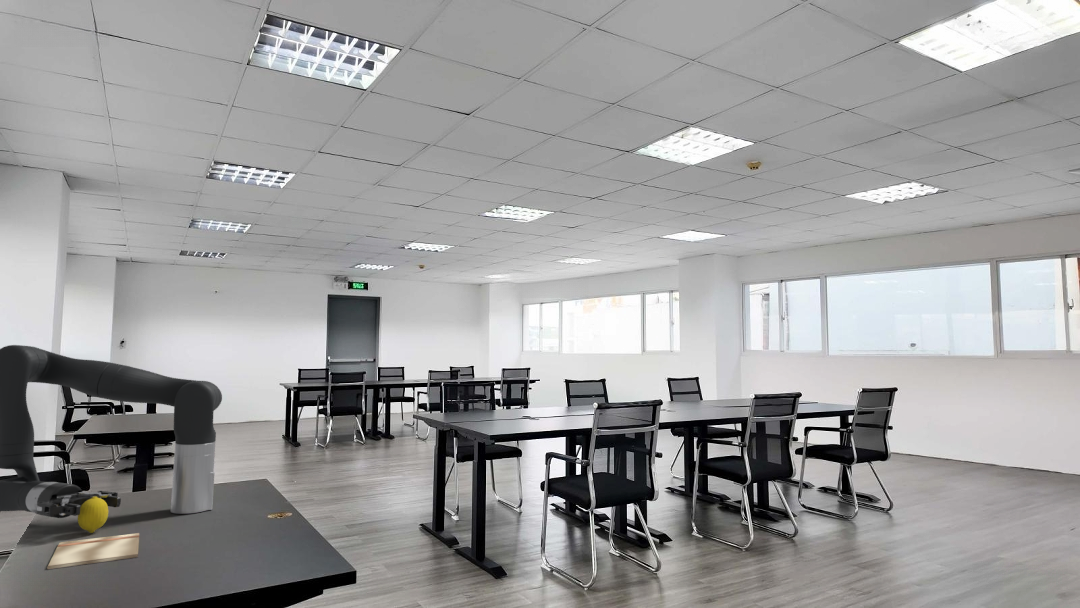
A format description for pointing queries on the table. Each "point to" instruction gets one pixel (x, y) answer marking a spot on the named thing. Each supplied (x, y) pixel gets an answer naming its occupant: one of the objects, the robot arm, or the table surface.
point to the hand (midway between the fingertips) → (99, 506)
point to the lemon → (93, 514)
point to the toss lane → (95, 550)
